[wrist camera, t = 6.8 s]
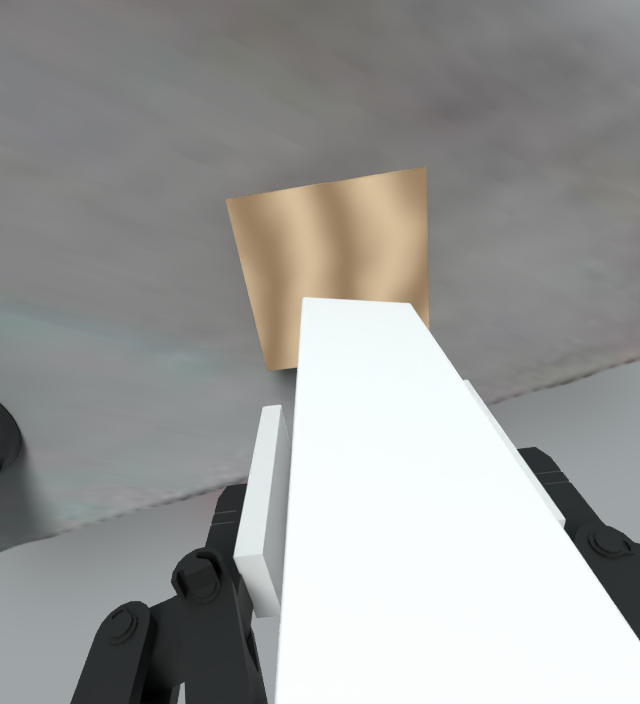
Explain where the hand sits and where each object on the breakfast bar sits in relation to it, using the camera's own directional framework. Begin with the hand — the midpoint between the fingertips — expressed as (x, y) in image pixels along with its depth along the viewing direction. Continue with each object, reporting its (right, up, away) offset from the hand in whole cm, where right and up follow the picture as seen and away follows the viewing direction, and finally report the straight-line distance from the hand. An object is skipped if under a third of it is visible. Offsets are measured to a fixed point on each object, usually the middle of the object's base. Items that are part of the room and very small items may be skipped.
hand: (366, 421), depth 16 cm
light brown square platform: (-1, +12, +23) cm, 26 cm away
